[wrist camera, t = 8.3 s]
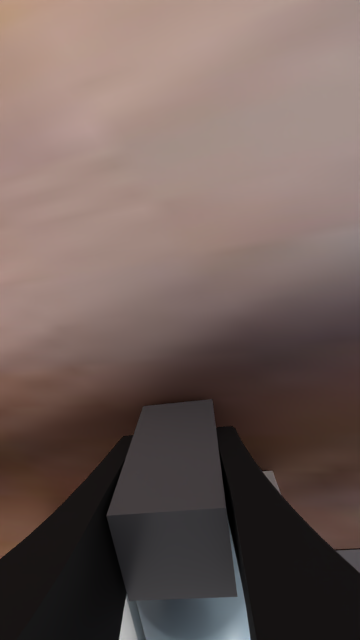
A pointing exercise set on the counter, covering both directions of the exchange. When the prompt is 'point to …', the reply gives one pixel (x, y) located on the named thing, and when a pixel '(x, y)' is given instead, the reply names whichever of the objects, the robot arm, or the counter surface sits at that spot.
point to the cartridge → (177, 528)
